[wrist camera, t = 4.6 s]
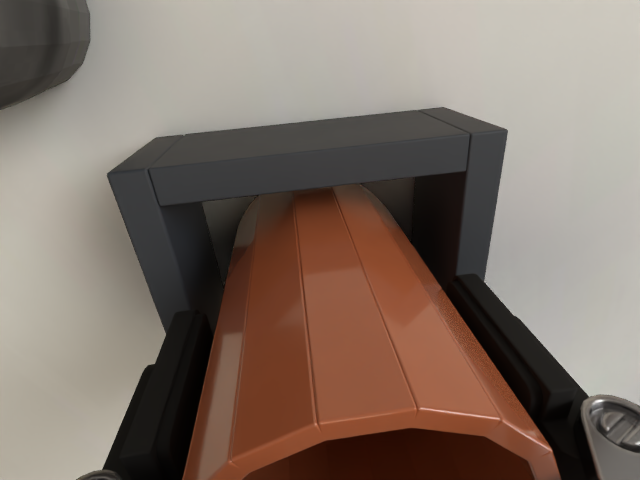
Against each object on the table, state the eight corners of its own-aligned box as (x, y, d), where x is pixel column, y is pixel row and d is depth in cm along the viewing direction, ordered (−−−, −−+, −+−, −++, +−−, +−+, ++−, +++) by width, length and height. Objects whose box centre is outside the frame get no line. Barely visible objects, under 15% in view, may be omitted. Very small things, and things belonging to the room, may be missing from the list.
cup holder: (445, 106, 13) (509, 129, 9) (428, 326, 17) (466, 396, 14) (154, 137, 12) (104, 173, 9) (218, 354, 17) (203, 435, 13)
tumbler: (393, 163, 13) (615, 379, 5) (391, 300, 16) (523, 590, 8) (220, 182, 13) (102, 455, 4) (250, 319, 16) (218, 644, 7)
